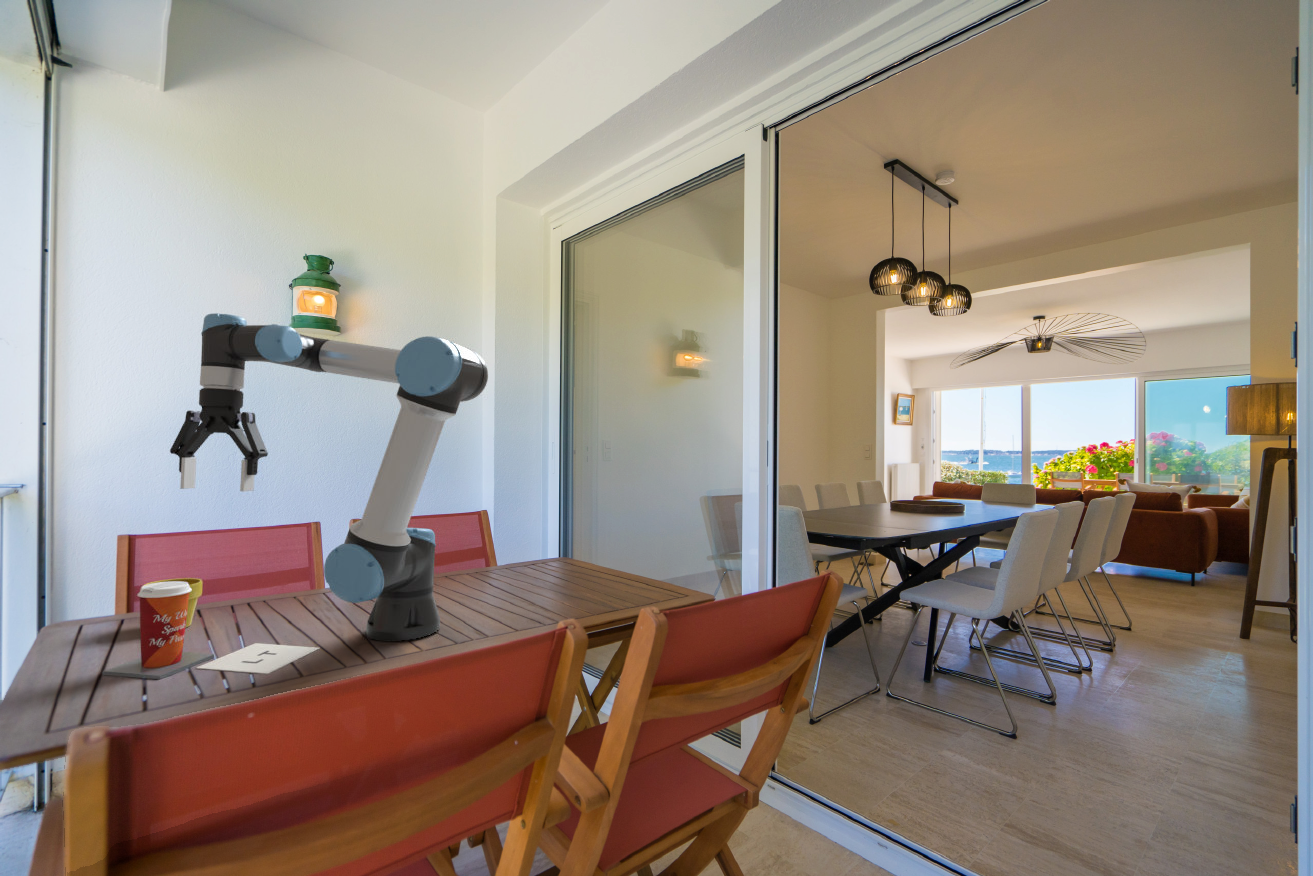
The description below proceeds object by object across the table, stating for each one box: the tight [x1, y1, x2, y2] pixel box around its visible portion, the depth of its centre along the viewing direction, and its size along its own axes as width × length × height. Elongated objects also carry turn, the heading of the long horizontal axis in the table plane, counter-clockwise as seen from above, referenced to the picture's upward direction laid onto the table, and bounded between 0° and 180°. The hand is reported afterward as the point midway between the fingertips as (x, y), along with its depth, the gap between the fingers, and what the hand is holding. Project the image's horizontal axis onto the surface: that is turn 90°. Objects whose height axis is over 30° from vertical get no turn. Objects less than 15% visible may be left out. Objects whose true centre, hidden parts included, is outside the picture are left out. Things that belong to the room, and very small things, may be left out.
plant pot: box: [142, 577, 203, 629], centre depth 131 cm, size 10×10×10 cm
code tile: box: [195, 642, 321, 675], centre depth 114 cm, size 14×14×1 cm
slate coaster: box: [102, 651, 215, 680], centre depth 109 cm, size 11×11×1 cm
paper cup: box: [136, 581, 192, 668], centre depth 109 cm, size 8×8×14 cm
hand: (217, 489), depth 126 cm, fingers open, 13 cm apart
